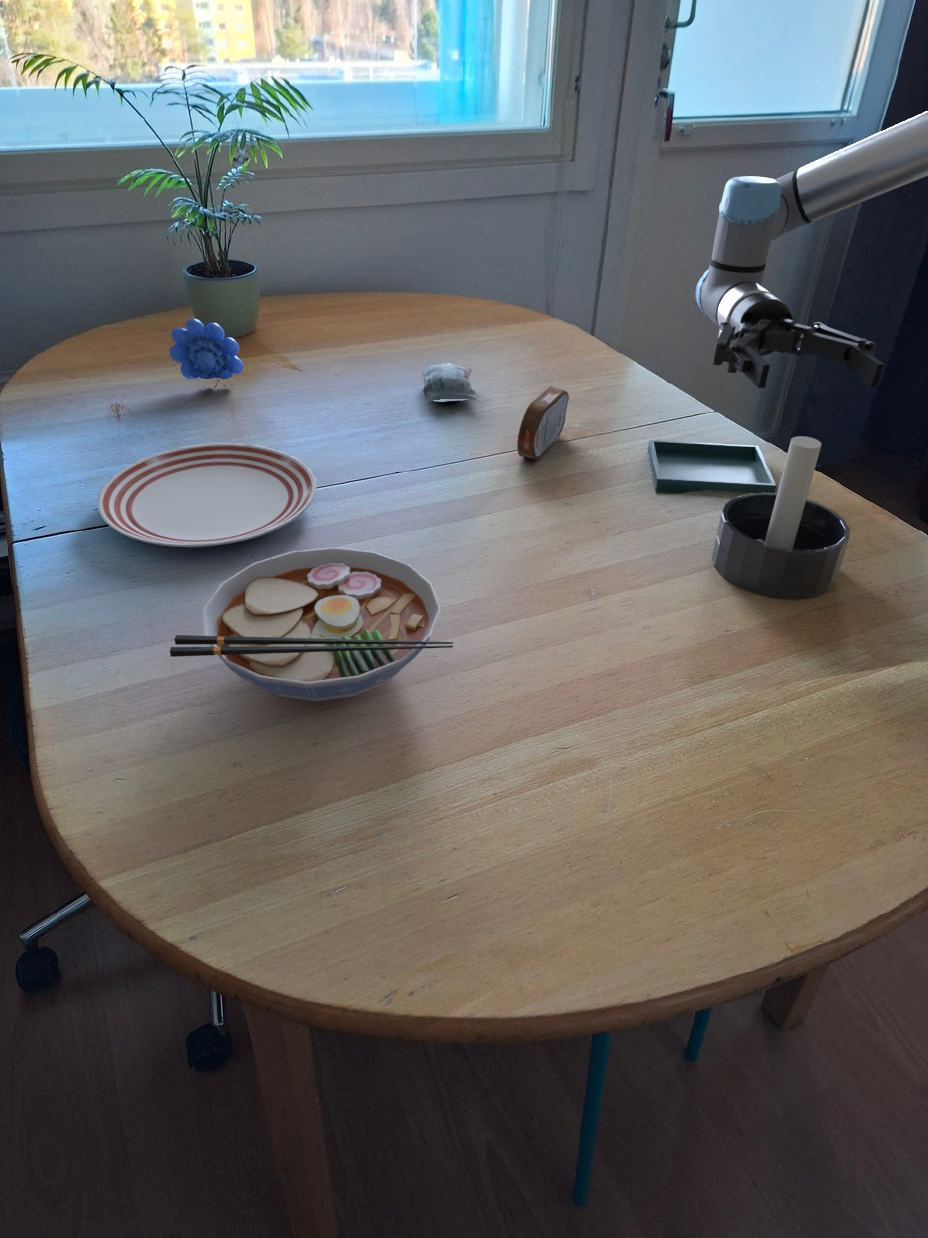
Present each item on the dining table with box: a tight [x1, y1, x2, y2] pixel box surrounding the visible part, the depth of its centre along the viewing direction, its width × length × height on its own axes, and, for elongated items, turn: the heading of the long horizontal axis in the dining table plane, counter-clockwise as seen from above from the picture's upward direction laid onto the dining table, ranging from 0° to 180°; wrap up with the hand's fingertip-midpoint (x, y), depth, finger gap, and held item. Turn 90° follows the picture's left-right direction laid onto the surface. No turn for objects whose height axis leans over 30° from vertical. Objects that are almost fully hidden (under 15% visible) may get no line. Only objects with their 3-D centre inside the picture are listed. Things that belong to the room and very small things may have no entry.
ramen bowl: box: [169, 546, 454, 702], centre depth 86 cm, size 25×23×8 cm
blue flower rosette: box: [168, 317, 244, 380], centre depth 145 cm, size 12×7×12 cm, turn 102°
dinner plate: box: [97, 442, 318, 548], centre depth 114 cm, size 27×27×3 cm
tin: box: [516, 385, 570, 460], centre depth 130 cm, size 15×3×8 cm, turn 155°
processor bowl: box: [711, 492, 851, 601], centre depth 103 cm, size 14×14×7 cm
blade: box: [756, 435, 822, 549], centre depth 100 cm, size 9×9×16 cm
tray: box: [647, 439, 778, 495], centre depth 126 cm, size 16×13×2 cm
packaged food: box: [422, 362, 478, 403], centre depth 148 cm, size 9×12×5 cm
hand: (821, 376), depth 100 cm, fingers open, 13 cm apart
